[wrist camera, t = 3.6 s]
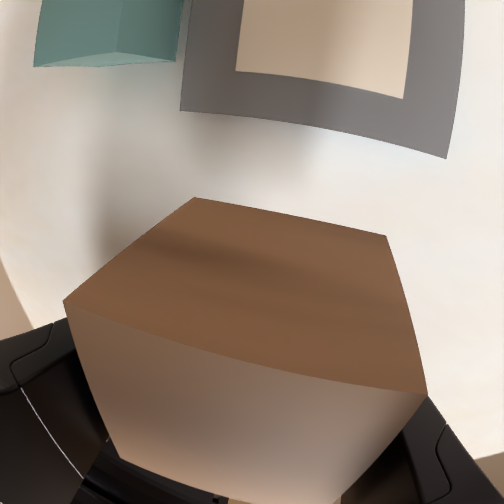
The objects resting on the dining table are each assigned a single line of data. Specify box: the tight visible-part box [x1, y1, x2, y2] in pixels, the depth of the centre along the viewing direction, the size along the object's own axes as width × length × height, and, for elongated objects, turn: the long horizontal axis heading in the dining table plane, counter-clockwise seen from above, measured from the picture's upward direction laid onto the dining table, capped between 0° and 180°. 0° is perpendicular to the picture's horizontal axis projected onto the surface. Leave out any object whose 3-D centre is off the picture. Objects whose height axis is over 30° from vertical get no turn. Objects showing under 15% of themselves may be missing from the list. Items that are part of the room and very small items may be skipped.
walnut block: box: [63, 197, 428, 504], centre depth 7 cm, size 5×5×5 cm
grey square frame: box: [180, 0, 465, 159], centre depth 10 cm, size 11×12×1 cm
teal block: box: [33, 0, 184, 67], centre depth 11 cm, size 5×5×5 cm
